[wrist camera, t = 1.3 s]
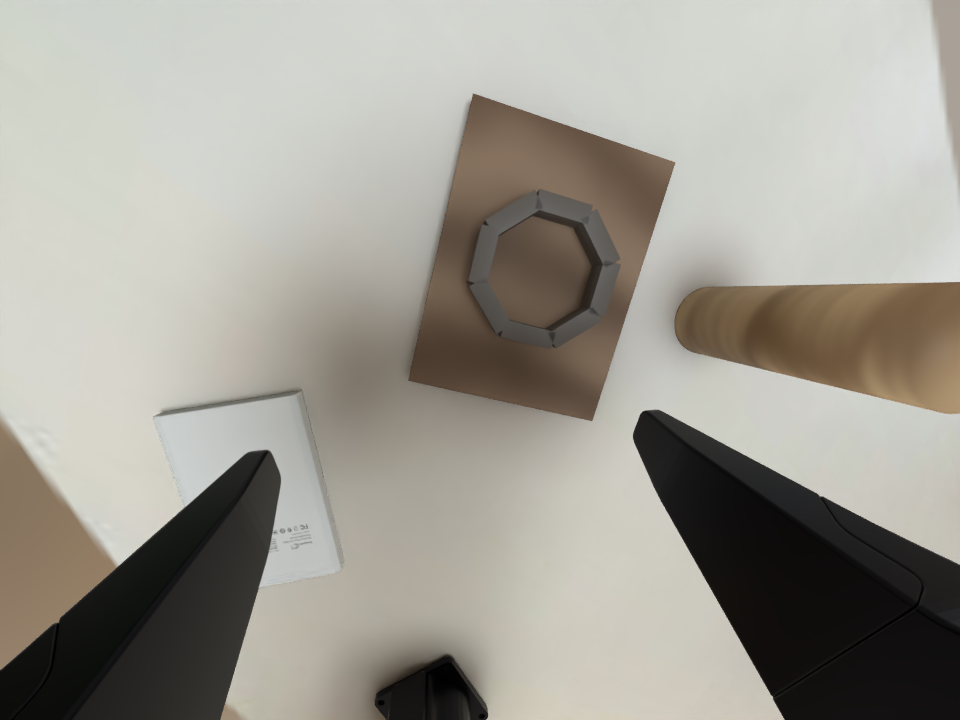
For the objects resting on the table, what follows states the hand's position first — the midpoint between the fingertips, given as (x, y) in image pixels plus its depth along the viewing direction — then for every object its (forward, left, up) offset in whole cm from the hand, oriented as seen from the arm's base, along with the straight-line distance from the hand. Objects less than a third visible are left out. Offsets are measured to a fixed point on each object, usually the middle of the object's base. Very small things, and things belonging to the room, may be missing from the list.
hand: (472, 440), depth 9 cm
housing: (+2, -6, -14) cm, 15 cm away
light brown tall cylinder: (-6, -15, -14) cm, 22 cm away
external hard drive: (-2, +15, -15) cm, 21 cm away
